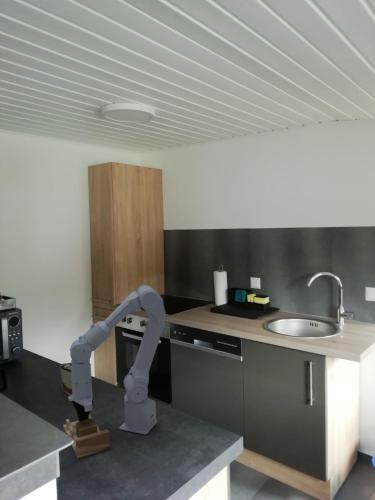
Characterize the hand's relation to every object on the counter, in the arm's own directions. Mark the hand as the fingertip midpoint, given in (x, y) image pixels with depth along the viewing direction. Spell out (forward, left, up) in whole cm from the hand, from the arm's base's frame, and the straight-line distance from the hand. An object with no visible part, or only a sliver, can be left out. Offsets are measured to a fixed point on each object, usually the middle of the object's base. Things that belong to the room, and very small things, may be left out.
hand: (83, 423), depth 115 cm
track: (-1, +1, -3) cm, 4 cm away
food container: (+20, -24, -4) cm, 31 cm away
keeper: (-3, +2, -2) cm, 4 cm away
